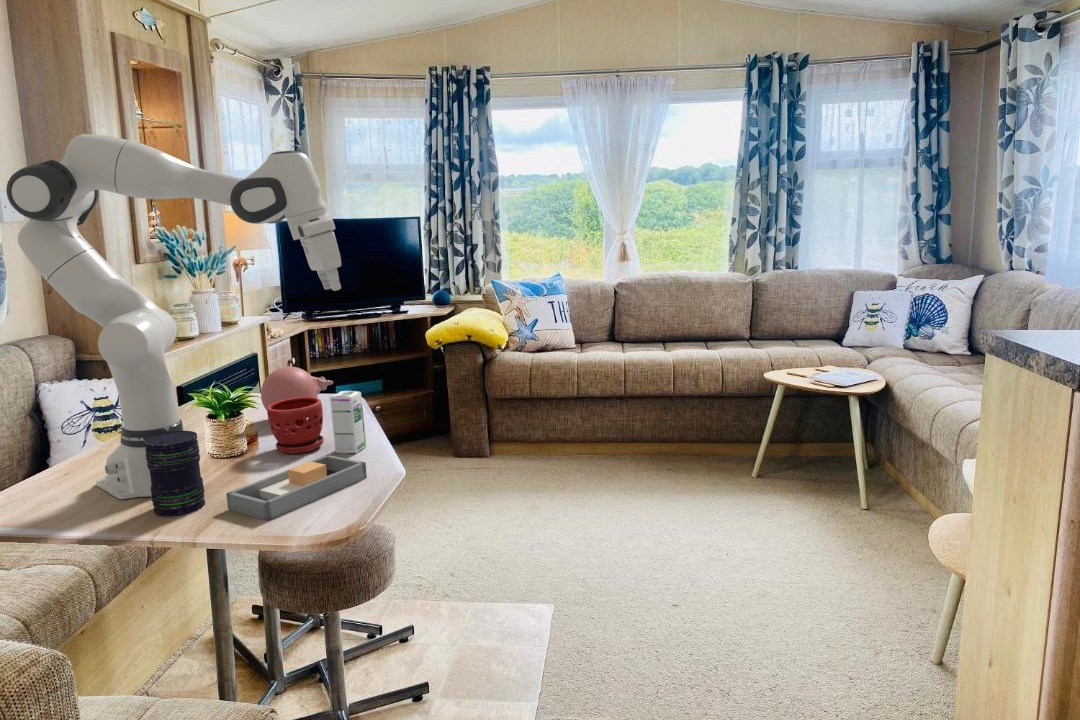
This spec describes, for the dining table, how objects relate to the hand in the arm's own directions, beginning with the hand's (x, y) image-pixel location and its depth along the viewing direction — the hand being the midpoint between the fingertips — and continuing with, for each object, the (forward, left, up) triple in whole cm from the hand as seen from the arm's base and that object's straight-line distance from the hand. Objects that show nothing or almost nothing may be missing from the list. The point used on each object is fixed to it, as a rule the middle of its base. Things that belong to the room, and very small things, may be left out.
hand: (333, 289), depth 170 cm
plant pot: (-26, +8, -42) cm, 50 cm away
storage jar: (-17, -31, -42) cm, 55 cm away
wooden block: (-1, -11, -40) cm, 41 cm away
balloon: (-48, +28, -42) cm, 69 cm away
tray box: (-1, -13, -42) cm, 44 cm away
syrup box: (-13, +13, -42) cm, 46 cm away
